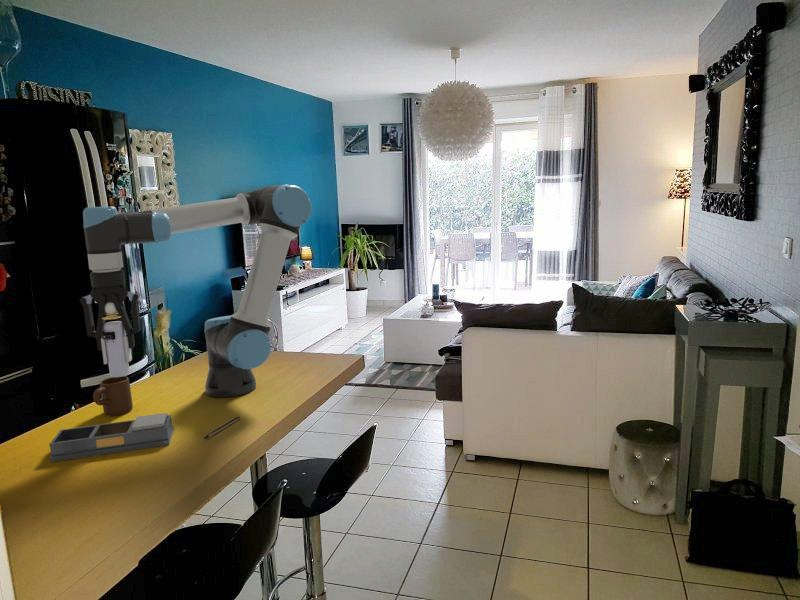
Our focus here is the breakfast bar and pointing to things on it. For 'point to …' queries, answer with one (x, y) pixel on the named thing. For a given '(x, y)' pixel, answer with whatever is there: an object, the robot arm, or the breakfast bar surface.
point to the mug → (114, 396)
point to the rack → (112, 437)
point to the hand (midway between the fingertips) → (118, 361)
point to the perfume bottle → (115, 342)
